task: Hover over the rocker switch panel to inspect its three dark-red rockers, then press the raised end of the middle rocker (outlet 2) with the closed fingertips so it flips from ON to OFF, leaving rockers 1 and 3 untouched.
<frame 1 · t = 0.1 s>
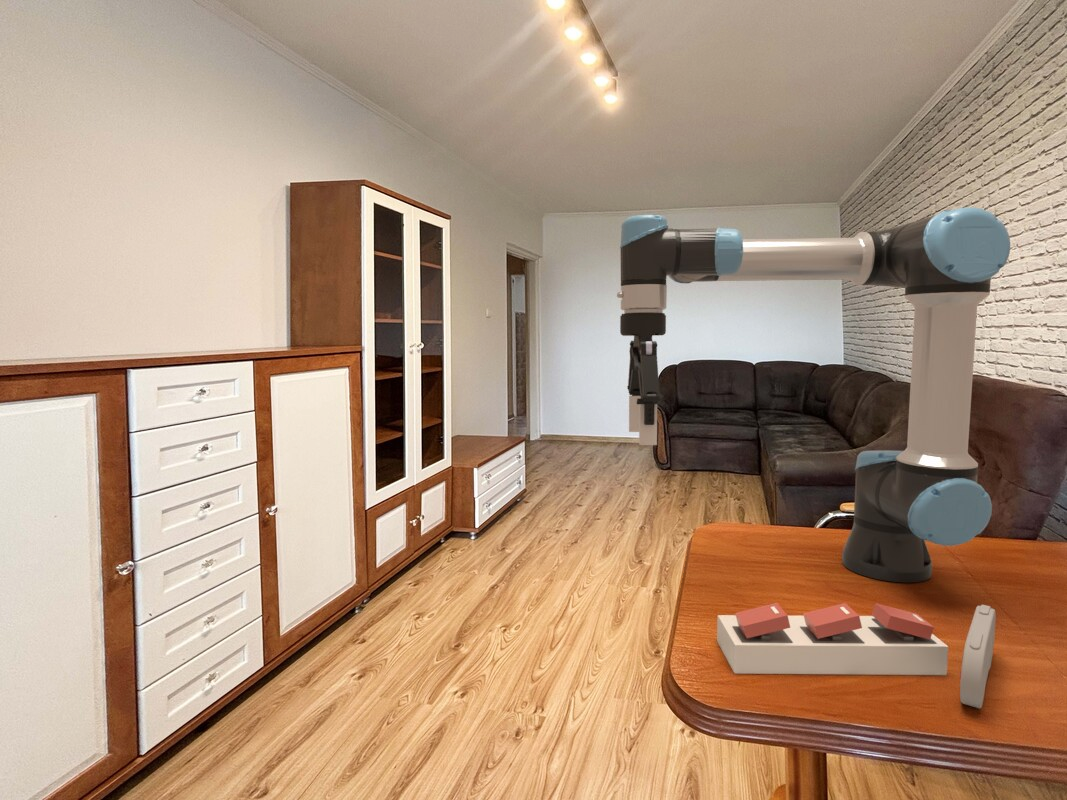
hand: (641, 438, 107), 28 cm above the table, fingers open, 13 cm apart
rocker 1: (902, 620, 86), point 6 cm above the table, hinge at -15.0°
grey rounded slab: (977, 684, 82), on the table
rocker switch panel: (825, 657, 88), on the table
rocker 2: (831, 620, 86), point 6 cm above the table, hinge at 15.0°
rocker 3: (762, 619, 86), point 6 cm above the table, hinge at 15.0°
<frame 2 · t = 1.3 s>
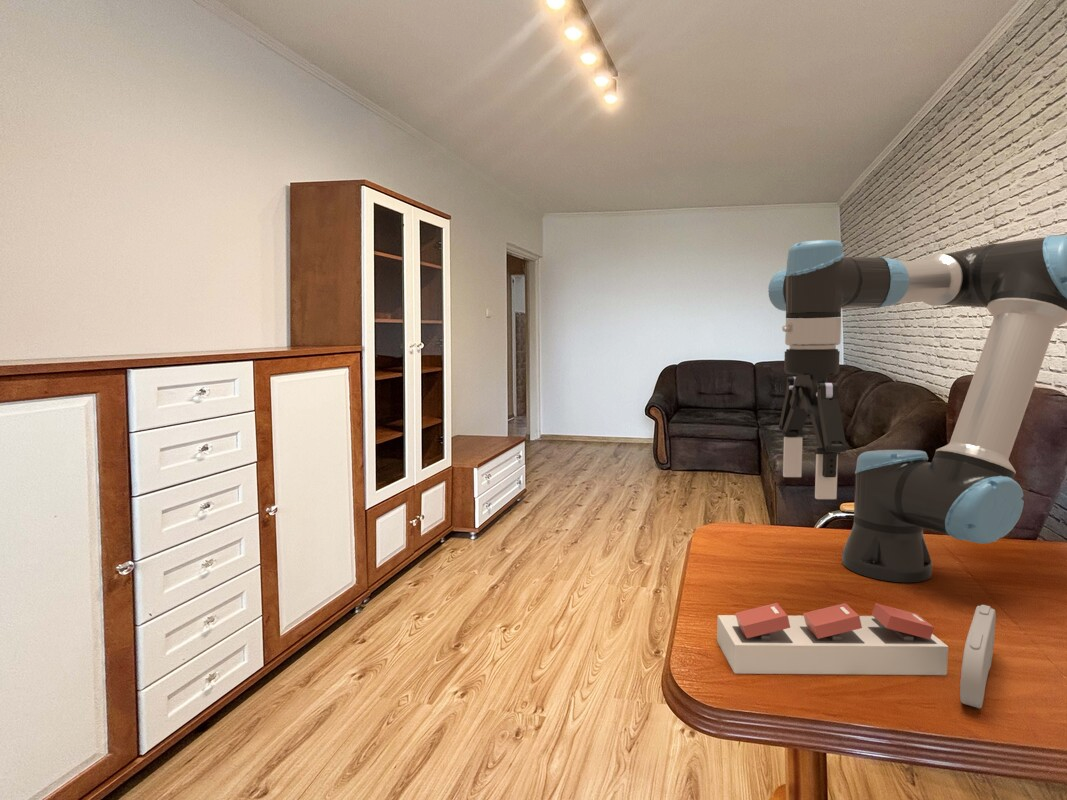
hand: (807, 487, 96), 22 cm above the table, fingers open, 13 cm apart
nothing on the table moved.
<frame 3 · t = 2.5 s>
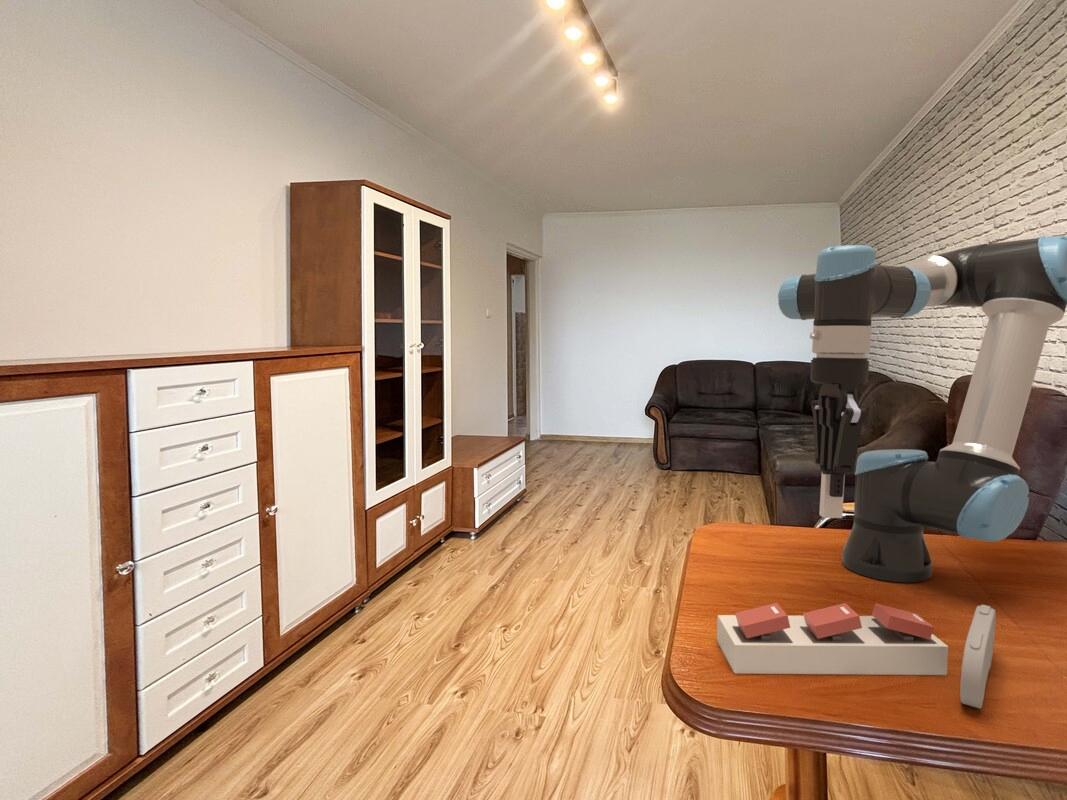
hand: (830, 516, 92), 19 cm above the table, fingers closed
nothing on the table moved.
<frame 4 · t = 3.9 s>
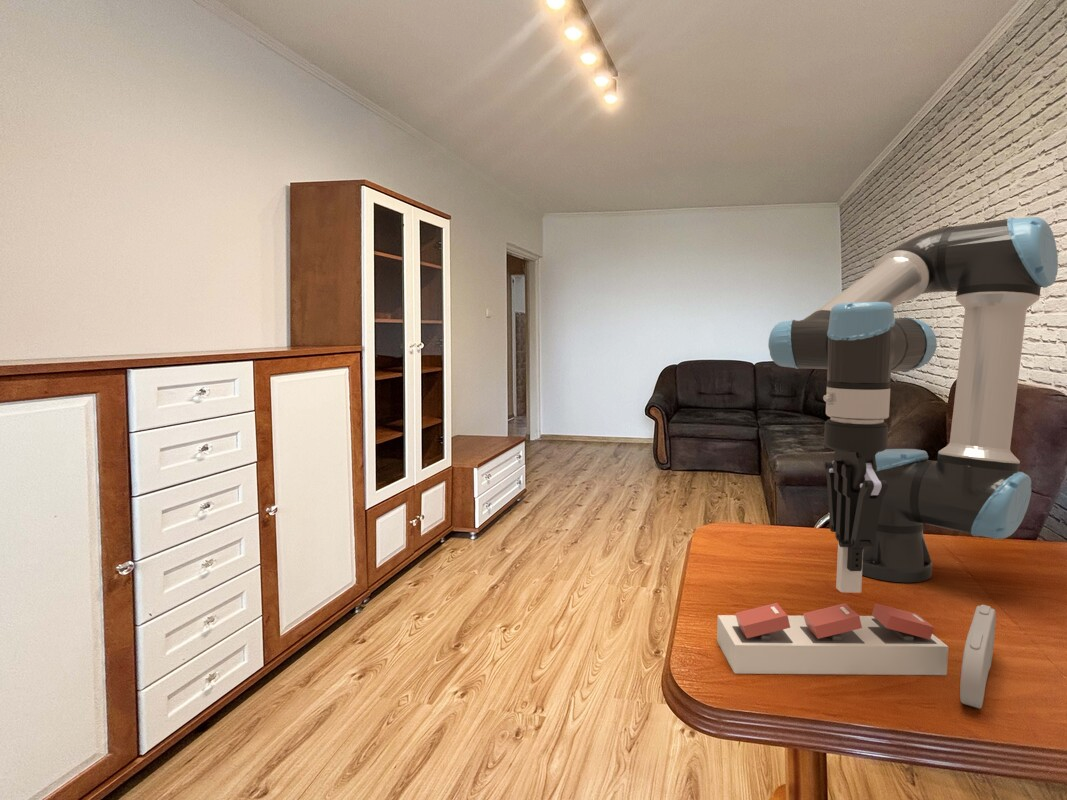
hand: (848, 590, 86), 10 cm above the table, fingers closed
nothing on the table moved.
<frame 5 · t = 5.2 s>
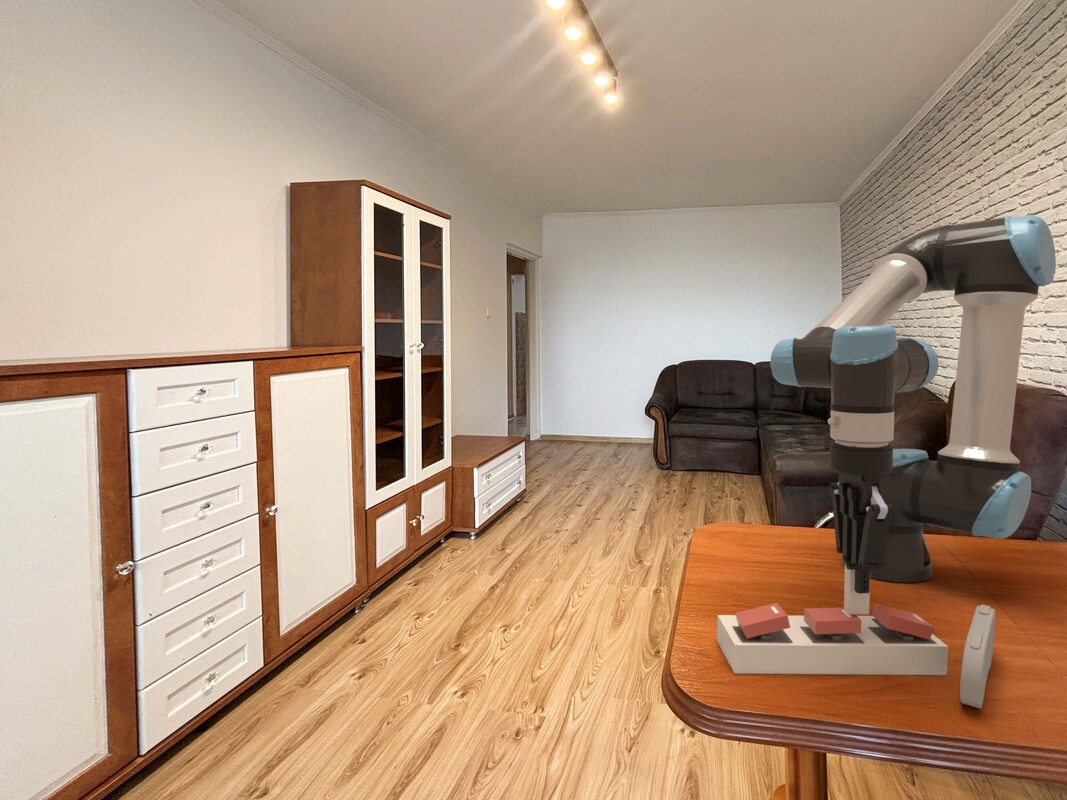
hand: (856, 611, 86), 7 cm above the table, fingers closed
rocker 2: (831, 620, 86), point 6 cm above the table, hinge at 1.9°, touching gripper
everything else where it was.
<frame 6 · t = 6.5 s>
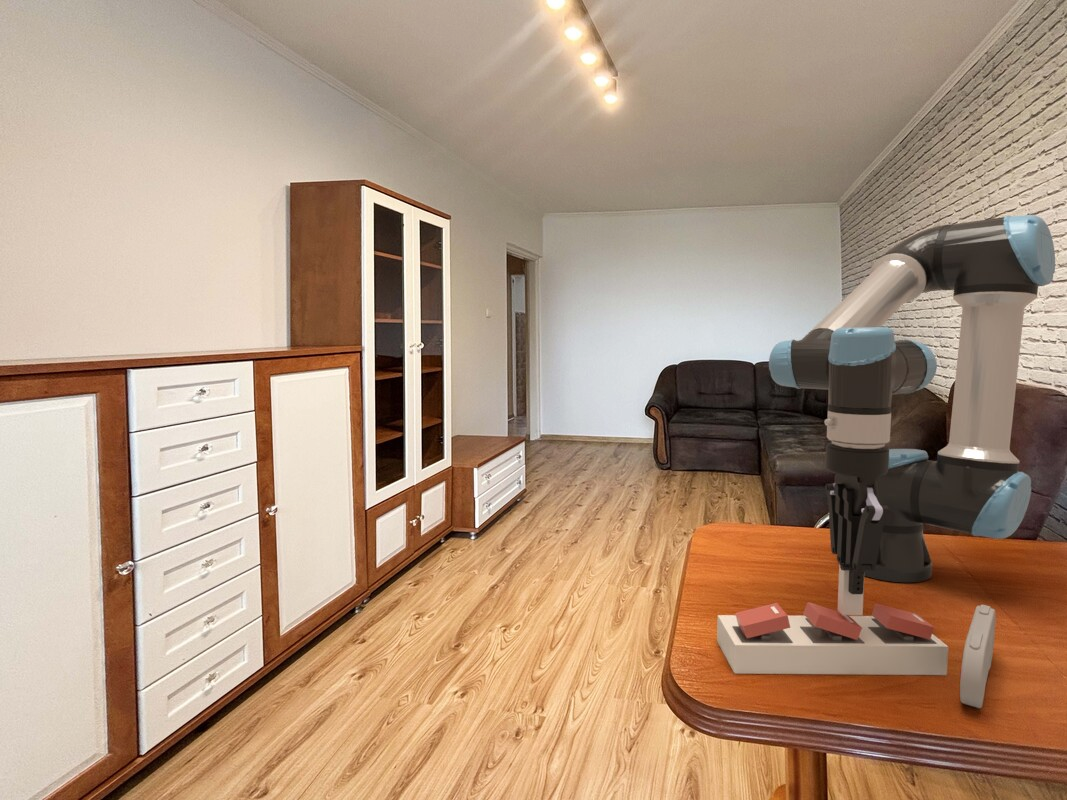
hand: (849, 612, 86), 7 cm above the table, fingers closed
rocker 2: (832, 620, 86), point 6 cm above the table, hinge at -18.1°
everything else where it was.
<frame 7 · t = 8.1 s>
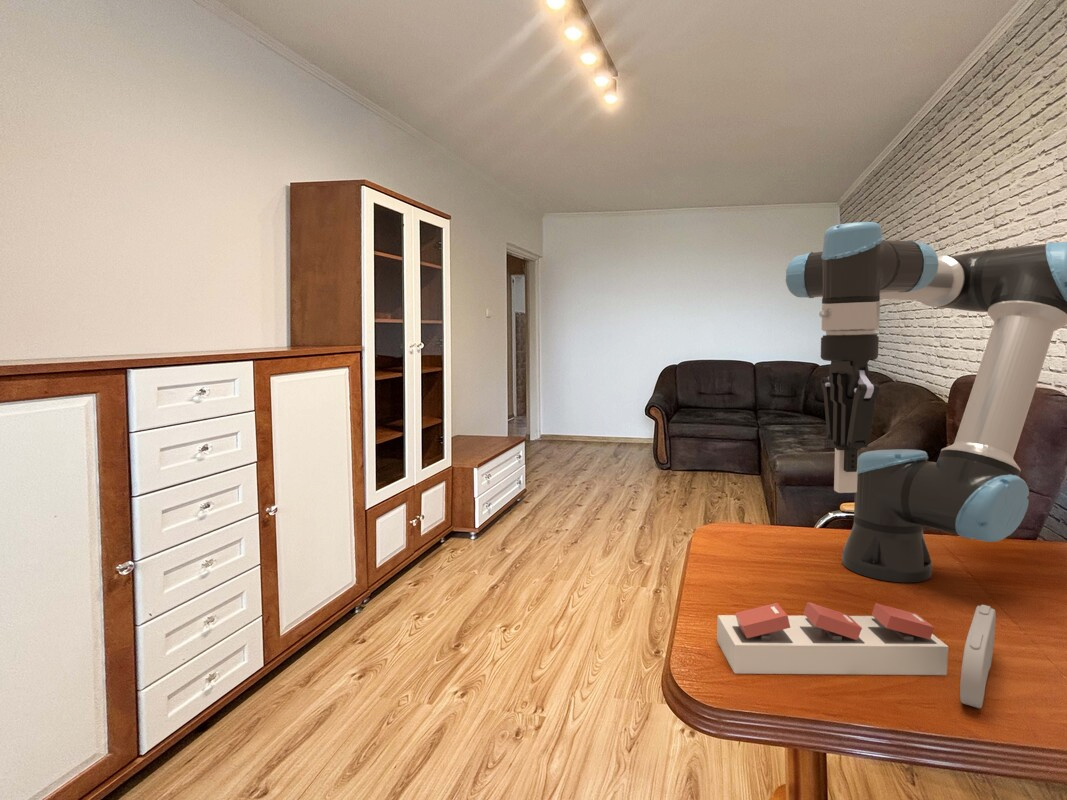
hand: (845, 491, 94), 22 cm above the table, fingers closed
rocker 2: (832, 620, 86), point 6 cm above the table, hinge at -18.6°
everything else where it was.
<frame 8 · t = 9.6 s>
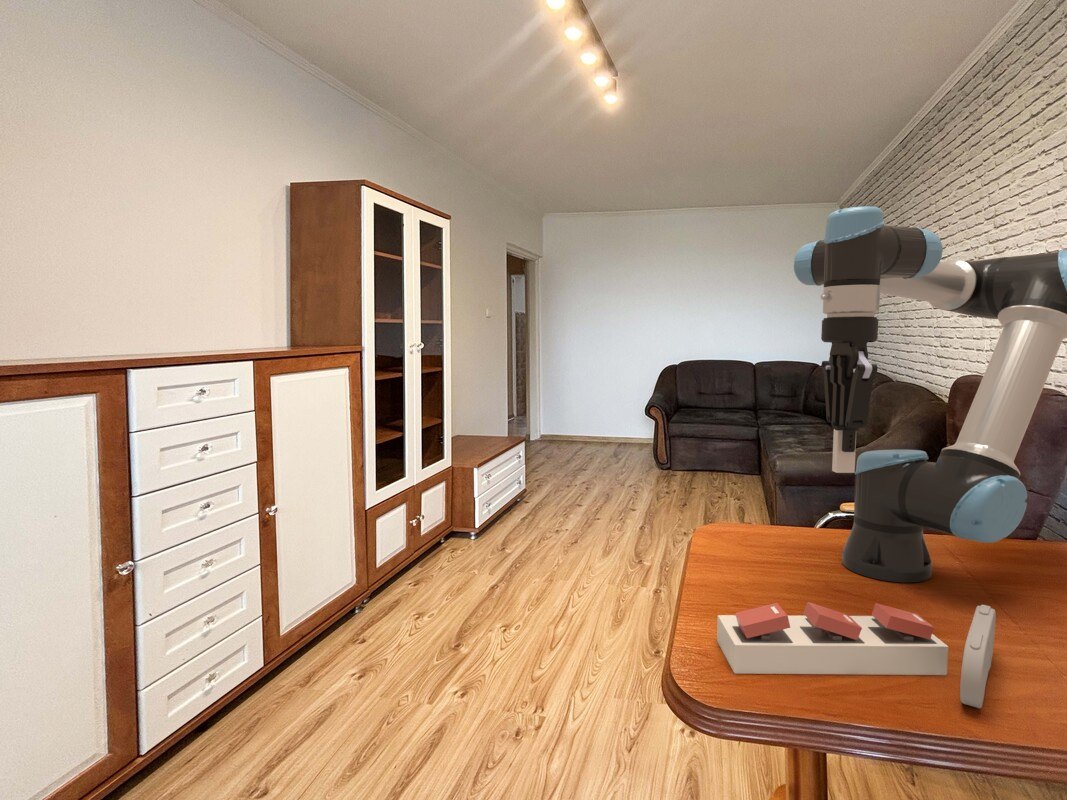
hand: (843, 471, 95), 24 cm above the table, fingers closed
nothing on the table moved.
at the end: rocker 2 at -19° (first picture: +15°); rocker 1 at -15° (first picture: -15°); rocker 3 at +15° (first picture: +15°) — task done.
